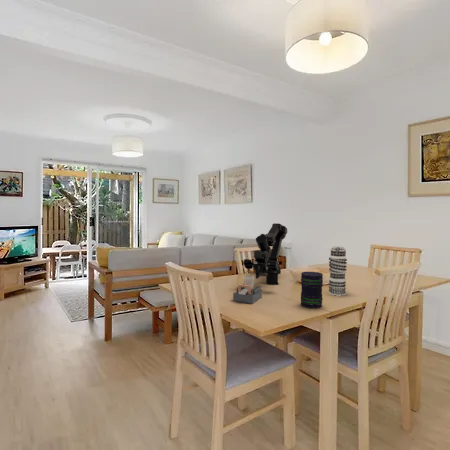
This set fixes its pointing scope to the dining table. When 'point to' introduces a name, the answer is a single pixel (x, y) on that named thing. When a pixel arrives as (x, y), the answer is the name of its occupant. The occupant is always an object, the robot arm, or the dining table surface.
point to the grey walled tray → (248, 295)
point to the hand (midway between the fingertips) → (256, 278)
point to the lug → (244, 286)
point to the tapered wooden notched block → (248, 281)
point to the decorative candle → (337, 271)
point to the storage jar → (311, 289)
